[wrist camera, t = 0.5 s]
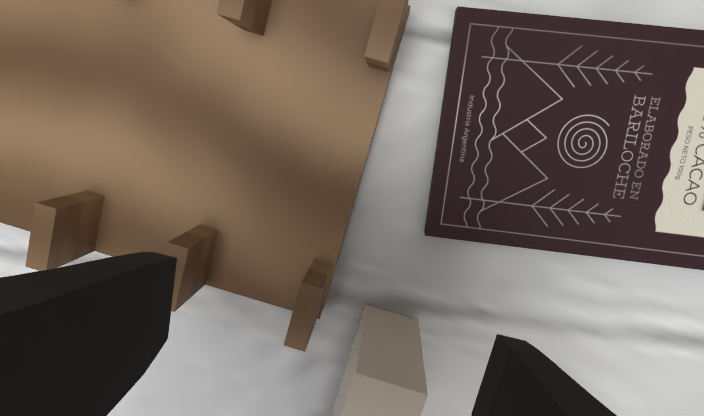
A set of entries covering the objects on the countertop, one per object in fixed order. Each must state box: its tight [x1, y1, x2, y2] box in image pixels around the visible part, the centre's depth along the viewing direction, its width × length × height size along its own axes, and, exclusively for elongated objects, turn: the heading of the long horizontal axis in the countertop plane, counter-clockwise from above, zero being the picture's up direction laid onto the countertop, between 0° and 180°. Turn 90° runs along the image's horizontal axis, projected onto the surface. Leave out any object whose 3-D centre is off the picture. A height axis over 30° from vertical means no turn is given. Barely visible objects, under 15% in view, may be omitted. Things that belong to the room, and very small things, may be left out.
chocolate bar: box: [424, 7, 704, 270], centre depth 19 cm, size 9×1×18 cm
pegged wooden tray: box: [0, 0, 410, 351], centre depth 19 cm, size 13×16×4 cm
